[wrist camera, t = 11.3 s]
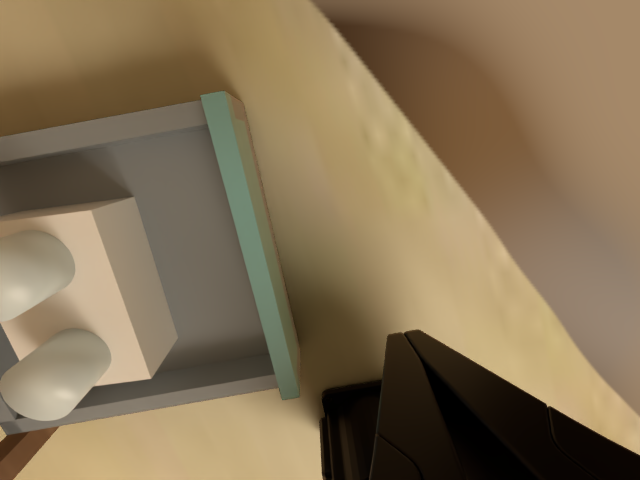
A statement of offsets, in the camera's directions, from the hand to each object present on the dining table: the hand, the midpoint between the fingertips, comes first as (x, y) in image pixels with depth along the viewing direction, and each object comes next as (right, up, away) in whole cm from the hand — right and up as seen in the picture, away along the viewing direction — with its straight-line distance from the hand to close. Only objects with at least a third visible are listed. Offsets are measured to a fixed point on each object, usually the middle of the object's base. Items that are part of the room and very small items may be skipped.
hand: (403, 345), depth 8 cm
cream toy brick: (-15, +1, +10) cm, 18 cm away
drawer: (-14, +1, +11) cm, 17 cm away
